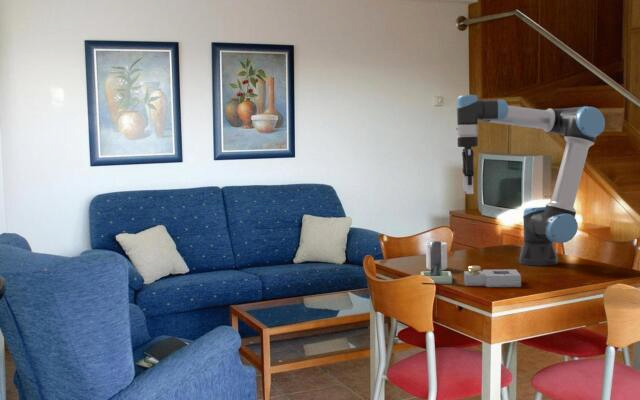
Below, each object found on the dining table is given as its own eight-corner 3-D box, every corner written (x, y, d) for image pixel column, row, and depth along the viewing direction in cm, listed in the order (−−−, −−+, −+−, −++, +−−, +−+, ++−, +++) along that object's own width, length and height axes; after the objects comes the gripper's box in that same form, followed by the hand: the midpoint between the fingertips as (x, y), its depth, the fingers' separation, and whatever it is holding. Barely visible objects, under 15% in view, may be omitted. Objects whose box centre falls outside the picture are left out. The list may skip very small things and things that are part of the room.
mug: (446, 272, 299) (445, 246, 298) (425, 272, 301) (424, 246, 300) (447, 267, 311) (447, 242, 310) (427, 266, 312) (426, 241, 312)
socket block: (516, 280, 280) (516, 269, 279) (521, 286, 268) (520, 275, 268) (463, 280, 282) (463, 269, 282) (466, 287, 270) (465, 276, 270)
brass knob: (480, 279, 277) (480, 265, 277) (481, 282, 273) (481, 267, 273) (467, 279, 278) (467, 265, 278) (468, 282, 274) (468, 267, 273)
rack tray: (450, 277, 288) (450, 271, 288) (452, 283, 277) (452, 276, 277) (421, 278, 289) (420, 271, 289) (421, 283, 278) (421, 277, 278)
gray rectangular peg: (441, 278, 285) (440, 240, 284) (441, 280, 281) (441, 242, 280) (430, 278, 285) (429, 241, 284) (430, 280, 281) (430, 242, 280)
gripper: (455, 136, 301) (456, 190, 303) (459, 136, 276) (460, 195, 278) (474, 135, 300) (475, 189, 302) (480, 136, 275) (481, 194, 277)
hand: (468, 192), depth 290 cm, fingers open, 13 cm apart
